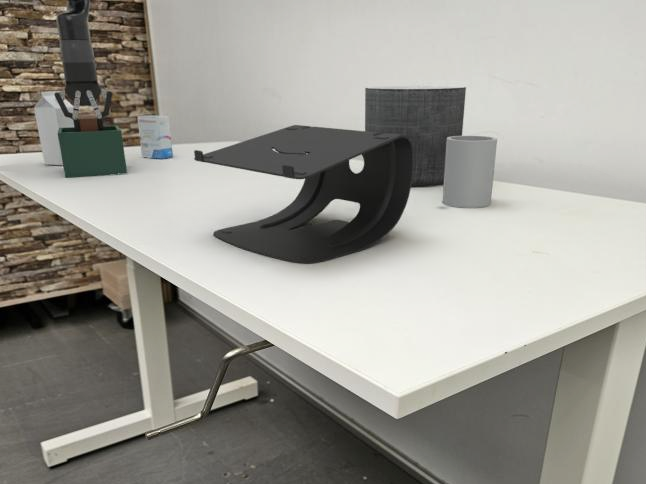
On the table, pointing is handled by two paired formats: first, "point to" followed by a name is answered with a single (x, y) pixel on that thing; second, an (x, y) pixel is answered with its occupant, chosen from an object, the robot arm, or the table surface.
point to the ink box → (155, 136)
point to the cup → (469, 171)
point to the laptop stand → (322, 189)
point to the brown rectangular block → (88, 123)
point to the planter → (418, 122)
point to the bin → (92, 152)
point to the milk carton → (51, 126)
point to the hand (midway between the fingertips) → (89, 134)
